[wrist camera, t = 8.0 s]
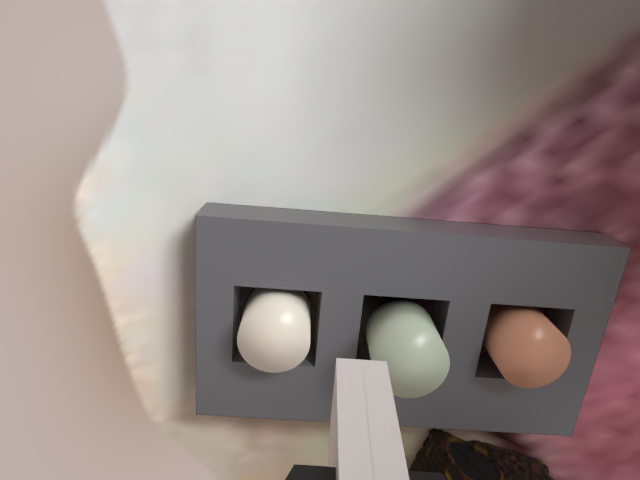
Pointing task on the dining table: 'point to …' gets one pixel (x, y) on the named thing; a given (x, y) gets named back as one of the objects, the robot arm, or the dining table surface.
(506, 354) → the terracotta button
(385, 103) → the dining table surface
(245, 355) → the cream button
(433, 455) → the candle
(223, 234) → the panel
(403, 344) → the sage button
